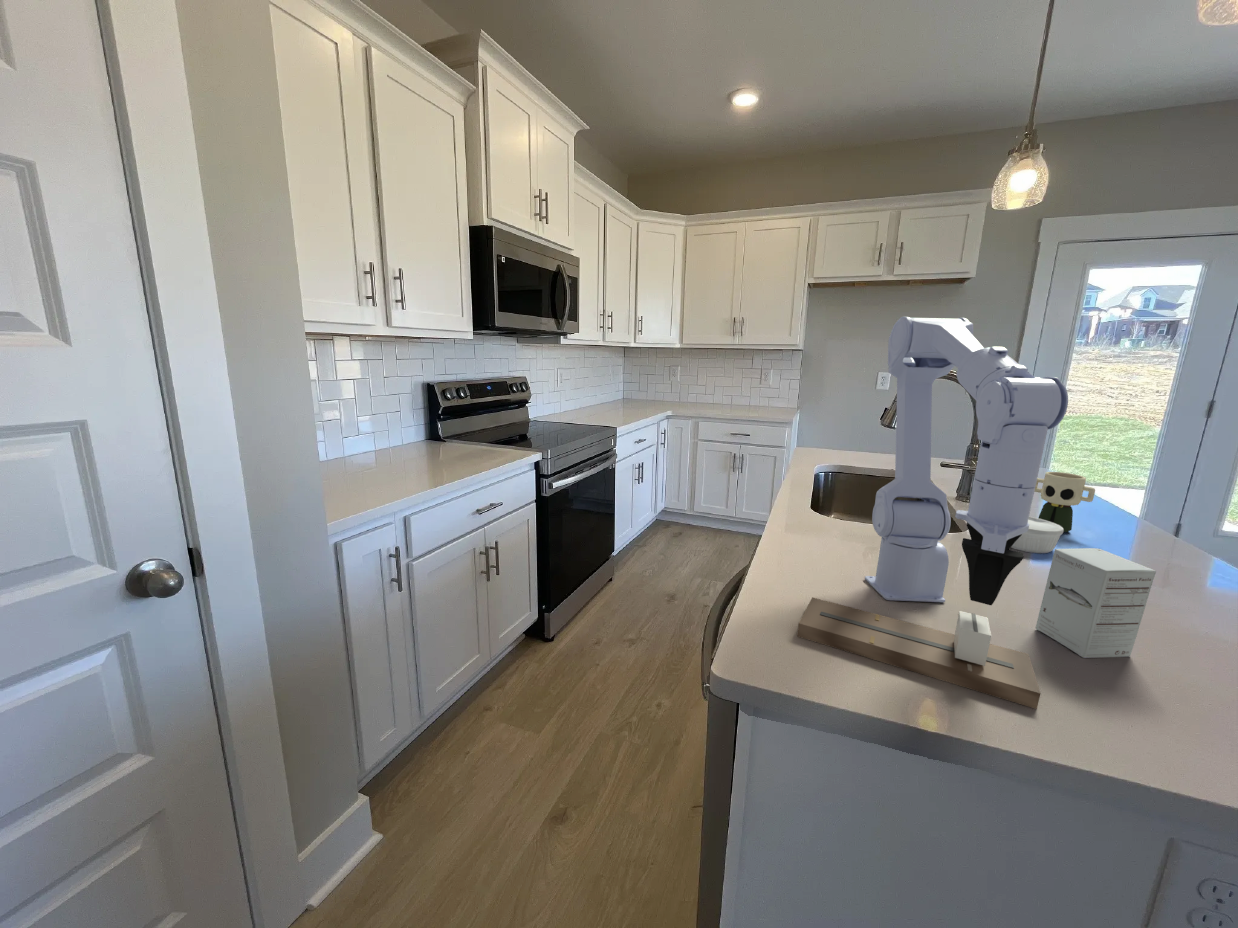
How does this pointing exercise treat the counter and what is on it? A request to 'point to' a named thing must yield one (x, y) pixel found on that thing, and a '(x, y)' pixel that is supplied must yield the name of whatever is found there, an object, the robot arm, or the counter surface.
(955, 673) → the fader board
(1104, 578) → the supplement box
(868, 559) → the counter surface
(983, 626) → the fader knob
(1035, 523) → the ramekin
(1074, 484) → the character mug
